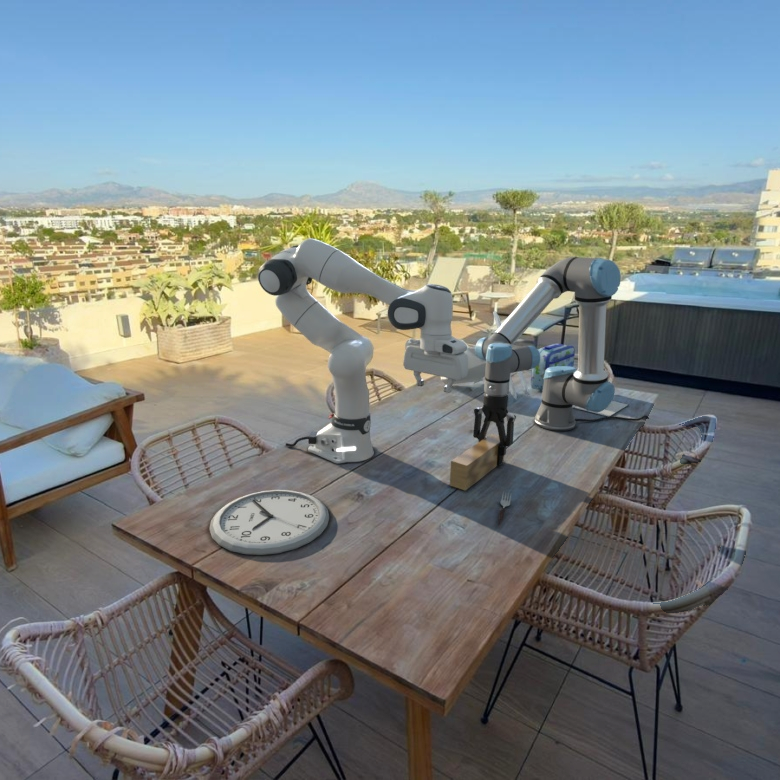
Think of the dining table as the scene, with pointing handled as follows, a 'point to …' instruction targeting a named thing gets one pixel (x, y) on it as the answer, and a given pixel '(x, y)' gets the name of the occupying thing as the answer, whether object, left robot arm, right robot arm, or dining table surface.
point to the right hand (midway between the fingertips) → (491, 461)
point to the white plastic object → (479, 365)
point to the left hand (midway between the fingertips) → (433, 388)
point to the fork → (504, 504)
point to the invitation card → (608, 408)
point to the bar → (474, 463)
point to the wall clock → (269, 522)
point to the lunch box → (551, 362)
